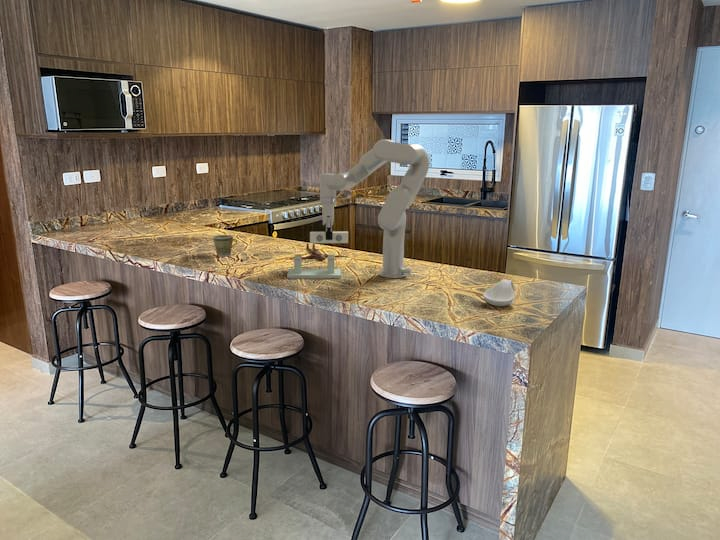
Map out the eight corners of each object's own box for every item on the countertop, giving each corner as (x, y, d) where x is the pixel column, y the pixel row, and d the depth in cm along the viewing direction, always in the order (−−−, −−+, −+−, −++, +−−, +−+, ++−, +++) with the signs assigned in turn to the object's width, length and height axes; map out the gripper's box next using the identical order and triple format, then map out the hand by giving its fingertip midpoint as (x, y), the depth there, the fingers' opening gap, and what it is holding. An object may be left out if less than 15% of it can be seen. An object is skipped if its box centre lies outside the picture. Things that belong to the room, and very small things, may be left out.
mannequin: (354, 252, 299) (354, 245, 298) (340, 264, 272) (340, 255, 271) (308, 250, 305) (308, 242, 304) (290, 261, 278) (289, 252, 277)
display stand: (340, 271, 256) (340, 252, 254) (341, 278, 244) (341, 258, 242) (289, 271, 255) (288, 252, 252) (287, 278, 243) (286, 258, 241)
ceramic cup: (210, 256, 282) (209, 237, 279) (220, 252, 291) (219, 234, 288) (232, 258, 278) (231, 239, 275) (242, 254, 287) (241, 236, 285)
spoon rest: (510, 311, 204) (511, 292, 202) (479, 306, 209) (480, 288, 207) (522, 295, 225) (523, 278, 223) (493, 291, 230) (495, 274, 228)
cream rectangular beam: (348, 241, 261) (348, 231, 260) (348, 243, 257) (348, 232, 256) (310, 242, 260) (310, 231, 259) (310, 243, 257) (309, 233, 255)
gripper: (320, 198, 262) (321, 236, 266) (319, 202, 246) (320, 242, 251) (336, 198, 262) (336, 235, 267) (336, 202, 246) (337, 242, 251)
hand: (329, 238), depth 259 cm, fingers closed on cream rectangular beam, 3 cm apart
